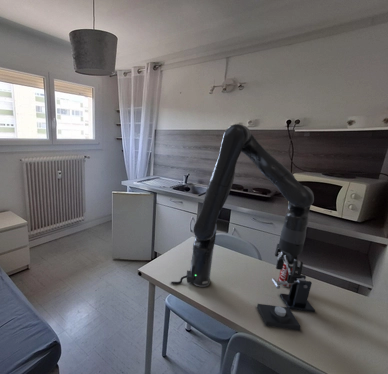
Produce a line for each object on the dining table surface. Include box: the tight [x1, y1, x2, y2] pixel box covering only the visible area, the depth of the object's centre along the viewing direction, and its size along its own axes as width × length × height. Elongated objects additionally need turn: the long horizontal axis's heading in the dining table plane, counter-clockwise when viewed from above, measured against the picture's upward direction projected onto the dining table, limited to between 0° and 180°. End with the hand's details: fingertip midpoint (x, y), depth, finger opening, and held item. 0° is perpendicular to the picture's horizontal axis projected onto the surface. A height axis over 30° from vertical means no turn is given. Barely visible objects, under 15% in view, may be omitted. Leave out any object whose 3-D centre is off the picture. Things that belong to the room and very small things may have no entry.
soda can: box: [277, 261, 293, 288], centre depth 106 cm, size 5×5×12 cm
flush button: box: [275, 305, 286, 317], centre depth 86 cm, size 4×4×2 cm
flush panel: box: [256, 303, 302, 331], centre depth 87 cm, size 12×9×4 cm
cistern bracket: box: [279, 274, 316, 313], centre depth 94 cm, size 10×8×13 cm
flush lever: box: [271, 277, 307, 290], centre depth 94 cm, size 12×5×2 cm, turn 81°
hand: (284, 275), depth 87 cm, fingers open, 8 cm apart
